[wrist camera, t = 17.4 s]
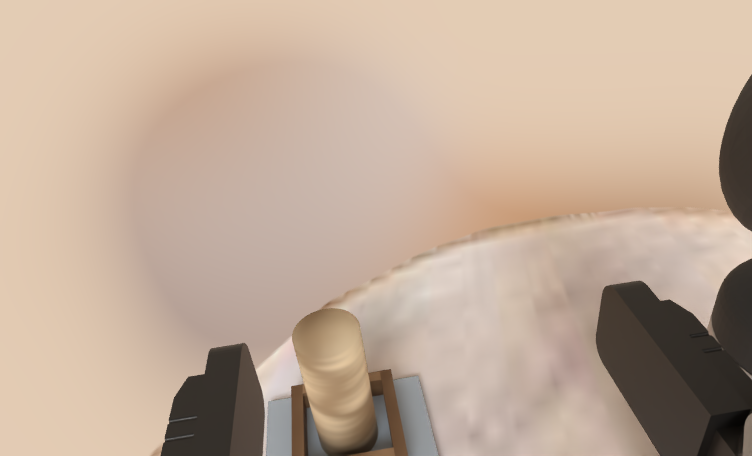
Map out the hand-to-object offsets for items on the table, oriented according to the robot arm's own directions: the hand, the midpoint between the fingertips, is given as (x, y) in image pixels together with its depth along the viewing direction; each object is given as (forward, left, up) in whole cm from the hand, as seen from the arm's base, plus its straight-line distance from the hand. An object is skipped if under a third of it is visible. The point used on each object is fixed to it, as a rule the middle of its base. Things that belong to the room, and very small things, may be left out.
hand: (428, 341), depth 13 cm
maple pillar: (+4, -22, -31) cm, 38 cm away
